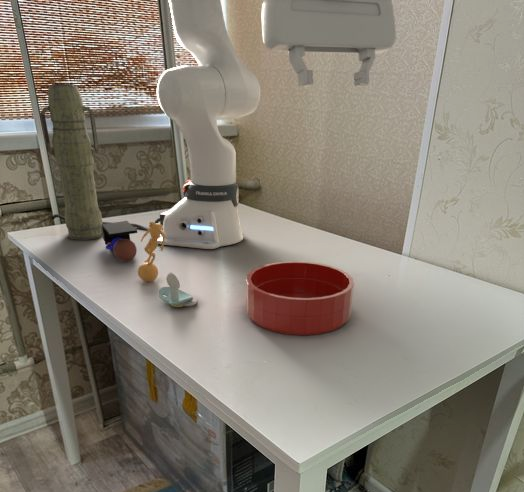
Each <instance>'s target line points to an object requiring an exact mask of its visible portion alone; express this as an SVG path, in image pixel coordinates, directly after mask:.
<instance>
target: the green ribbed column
mask: <svg viewBox="0 0 524 492" xmlns="http://www.w3.org/2000/svg"><path fill="white" fill-rule="evenodd" d="M47 104H48V105H47V106H46V107H43V108H42V110H41V112H40V113H39V116H40V122H41V126H42V130H43V135H44V140H45V145H46V147H45V148H46V152H47V153H48V154H50V155H51V156H53V157H54V161H55V166H56V168H58V172H59V177H60V184H61V190H62V195H63V202H64V206H65V207H64V215H63V216H64V217H65V220H64V222H65V226H66V228H67V233H68V238H69V239H71V240H75V241H88V240H94V239H99V238H101V237H103V236H102V232H101V227H102V224H103V223H102V222H103V217H102V212H101V210H100V208H99V204H98V197H97V189H96V183H95V175H94V165H95V161H94V155H95V154H99V142H98V135H97V127H96V119H95V113H94V111H93V110H92V109H91V108H90V106H85V105H84V101H83V97H82V95H81V92H80V91H79V87H78V86H77V85H75V84H74V83H51V85H49V86H48V92H47ZM47 111H48V112H49V115H50V121H51V122H52V123H51V124H52V133H53V134H52V140H51V141H50V136H49V130H48V124H47V118H46V113H47ZM87 111H88V113H89V117H90V126H91V132H92V140H93V145H92V141H91V137H90V136H89V134H88V130H87V127H86V122H85V121H86V114H85V112H87ZM51 143H52V147H51Z"/></svg>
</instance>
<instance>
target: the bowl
mask: <svg viewBox="0 0 524 492" xmlns="http://www.w3.org/2000/svg"><path fill="white" fill-rule="evenodd" d="M354 287H355V282H354V278H353V277H352V275H350V274H349V273H348V272H346V271H345V270H343V269H340V268H338V267H335V266H332V265H330V264H329V265H328V264H324V263H319V262H311V261H297V260H296V261H295V260H294V261H291V260H290V261H278V262H272V263H271V262H270V263H267V264H263V265H259V266H258V267H256V268H254V269H252V270H251V271H249V272H248V273H247V274H246V278H245V312H246V314H247V317H249V318H250V319H251V320H252V321H253V322H254V323H255V324H256V325H258V326H259V327H261V328H263V329H265V330H267V331H268V330H269V331H271V332H275V333H279V334H284V335H292V336H313V335H320V334H325V333H330V332H333V331H336V330H337V329H339V328H341V327H342V326H344V324H345V323H347V322H348V321H349V320H350V318H351V315H352V309H353V307H352V306H353V298H354V289H355V288H354Z"/></svg>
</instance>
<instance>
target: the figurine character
mask: <svg viewBox="0 0 524 492" xmlns="http://www.w3.org/2000/svg"><path fill="white" fill-rule="evenodd" d="M130 223H131V222H129V221H128V220H123V221H115V222H114V223H107V224H102V227H101V232H102V236H101V237H102V239H103V241H104V245H105V249H106V250H109V251H111V252H113V254H114V256H115V258H117V260H120V261H122V262H129V261H131V260H133V259H134V258H135V257H136V256H137V246H136V243H135V242H134V241H132V240H131V235H132V234H133V235H134V234H138V229H137V228H136V227H133V226H132V225H131V224H130Z"/></svg>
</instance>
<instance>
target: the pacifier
mask: <svg viewBox="0 0 524 492" xmlns="http://www.w3.org/2000/svg"><path fill="white" fill-rule="evenodd" d="M165 280H166V283H167V286H163V287H161V288H159V289H158V296H159V299H161V301H163V302H166V303H168V304H169V305H170V307H173V308H183V307H192V306H195V305H197V304H198V298H196V296H193V295H191V294H190V293H187V292H185V291H184V290H181V289H180V288H181V284H180V281H179V279H178V277H177V276H176V274H175V273H173V272H169V273H167V275H166V279H165Z"/></svg>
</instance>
